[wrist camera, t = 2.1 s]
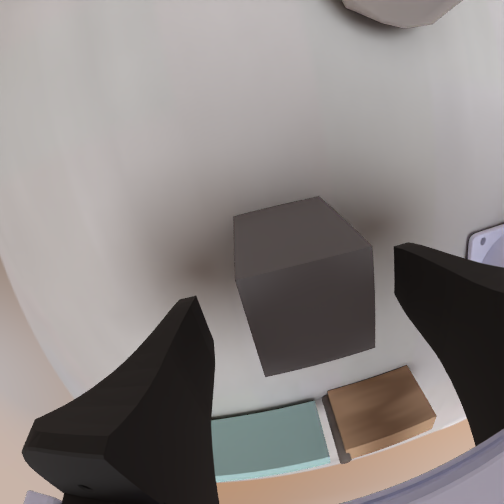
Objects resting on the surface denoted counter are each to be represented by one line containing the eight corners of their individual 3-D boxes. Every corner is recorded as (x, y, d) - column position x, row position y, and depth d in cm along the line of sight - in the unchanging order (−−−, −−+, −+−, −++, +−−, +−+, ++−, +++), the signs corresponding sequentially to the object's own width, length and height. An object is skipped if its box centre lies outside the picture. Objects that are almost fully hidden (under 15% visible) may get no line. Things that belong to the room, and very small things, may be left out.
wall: (406, 365, 19) (439, 420, 14) (404, 379, 20) (434, 433, 15) (139, 421, 20) (126, 480, 15) (148, 432, 20) (138, 489, 15)
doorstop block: (318, 195, 14) (372, 246, 8) (330, 271, 16) (374, 347, 10) (233, 216, 14) (235, 280, 9) (253, 290, 16) (265, 376, 10)
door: (314, 400, 19) (329, 456, 15) (316, 414, 20) (330, 467, 16) (182, 423, 19) (176, 478, 15) (191, 436, 20) (187, 488, 16)
